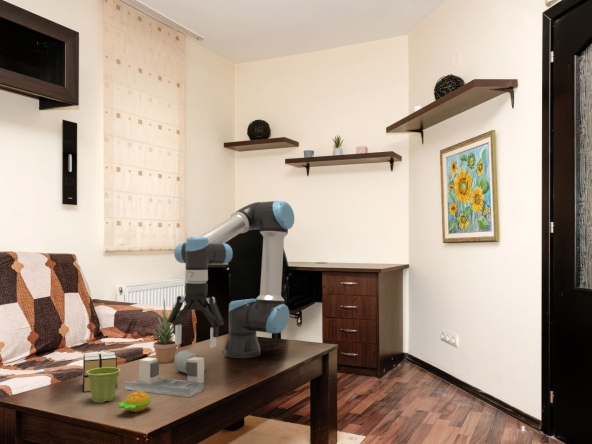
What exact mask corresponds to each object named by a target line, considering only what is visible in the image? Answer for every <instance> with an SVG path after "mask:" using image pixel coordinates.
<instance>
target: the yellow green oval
mask: <svg viewBox="0 0 592 444" xmlns="http://www.w3.org/2000/svg"><path fill="white" fill-rule="evenodd" d="M151 402H152V398H151V397H150V395H149V393H148V392H143V391H133V392H131V393H130V394H128V395H127V397H126V398H125V400H124V401H123V402H119V403H117V404H116V406H118V407H117V408H118V409H124V410H128V411H130V412H133V413H138V412H143V411H145V409H147V408H148V406H149V405H150V403H151Z"/></svg>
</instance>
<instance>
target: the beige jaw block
mask: <svg viewBox="0 0 592 444" xmlns="http://www.w3.org/2000/svg"><path fill="white" fill-rule="evenodd" d="M204 366H205V357H200V356H199V357H192V358H190V359H188V362H187V374H186V376H187V377H186V378H187V379H186V381H194V382H203V383H204V382H205V371H204Z"/></svg>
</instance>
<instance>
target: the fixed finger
mask: <svg viewBox="0 0 592 444" xmlns="http://www.w3.org/2000/svg"><path fill="white" fill-rule="evenodd" d="M138 361H139V364H138V365H139V367H138V368H139V375H138V379H139V383H148V384H151V383H153V382H156V381H157V378H158V376H159V373H160V369H159V368H160V362H159V361H158V360H157V357H156V358H155V357H145V358H142V359H139V360H138Z"/></svg>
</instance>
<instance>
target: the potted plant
mask: <svg viewBox="0 0 592 444" xmlns="http://www.w3.org/2000/svg"><path fill="white" fill-rule="evenodd" d="M175 304H176V302H174V303H173V305H172V307H171V311H170V312H169V315H168V316H167V313H166V301H165V298H164V299H163V309H162V310H161V311H162V313H161V314H162V320H161V318H160V316H157V320H158V322H159V324H157V325H156V326H157V330H158V332H157V331H156V330H155V329H154V328H152V330H153V332H154V333H155V334H154V336H155V337H156V338H157V340H156V342H153V346H152V347H153V349H154V351H155V356H156V358H157V361H159V364H160V363H161V364H165V363H166V364H167V363H171V362H174V359H175V356H176V352H177V348H178V347H179V344H178V345H175V334H174V333H173V325H172V323H169V322H168V320H169V318H170V315H171V313H172V311H173V309H174V307H175Z"/></svg>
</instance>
